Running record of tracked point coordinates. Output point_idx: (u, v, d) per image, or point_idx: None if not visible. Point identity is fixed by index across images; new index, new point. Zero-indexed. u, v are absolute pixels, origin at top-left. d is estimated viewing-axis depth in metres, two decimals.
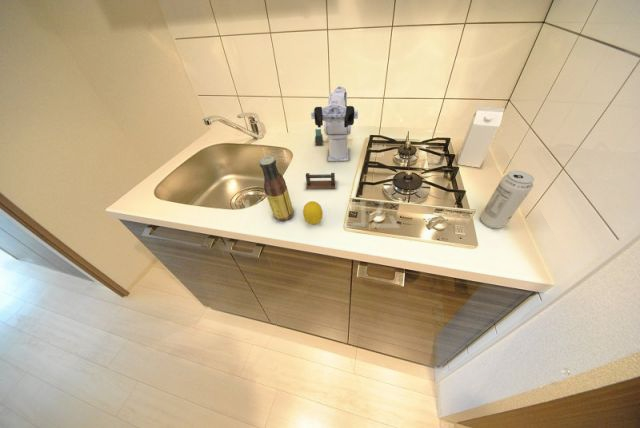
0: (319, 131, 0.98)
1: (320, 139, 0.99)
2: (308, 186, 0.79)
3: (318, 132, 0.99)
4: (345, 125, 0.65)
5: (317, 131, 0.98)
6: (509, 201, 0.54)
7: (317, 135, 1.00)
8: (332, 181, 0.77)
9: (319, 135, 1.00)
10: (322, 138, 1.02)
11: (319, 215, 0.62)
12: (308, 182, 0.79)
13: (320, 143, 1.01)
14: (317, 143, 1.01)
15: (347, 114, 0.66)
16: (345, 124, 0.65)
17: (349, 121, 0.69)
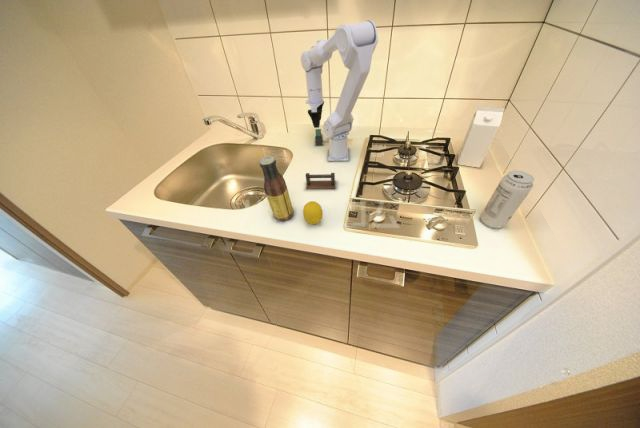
0: (319, 131, 0.98)
1: (320, 139, 0.99)
2: (308, 186, 0.79)
3: (318, 132, 0.99)
4: None
5: (317, 131, 0.98)
6: (509, 201, 0.54)
7: (317, 135, 1.00)
8: (332, 181, 0.77)
9: (319, 135, 1.00)
10: (322, 138, 1.02)
11: (319, 215, 0.62)
12: (308, 182, 0.79)
13: (320, 143, 1.01)
14: (317, 143, 1.01)
15: None
16: None
17: (318, 115, 0.89)
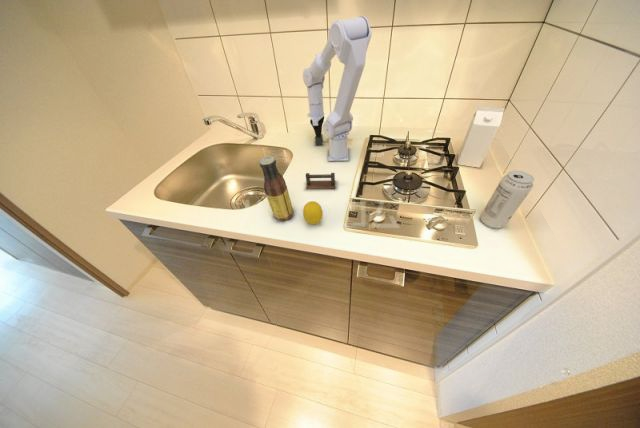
0: None
1: (320, 139, 0.99)
2: (308, 186, 0.79)
3: None
4: None
5: None
6: (509, 201, 0.54)
7: None
8: (332, 181, 0.77)
9: None
10: (322, 138, 1.02)
11: (319, 215, 0.62)
12: (308, 182, 0.79)
13: (320, 143, 1.01)
14: (317, 143, 1.01)
15: None
16: None
17: (319, 124, 0.95)
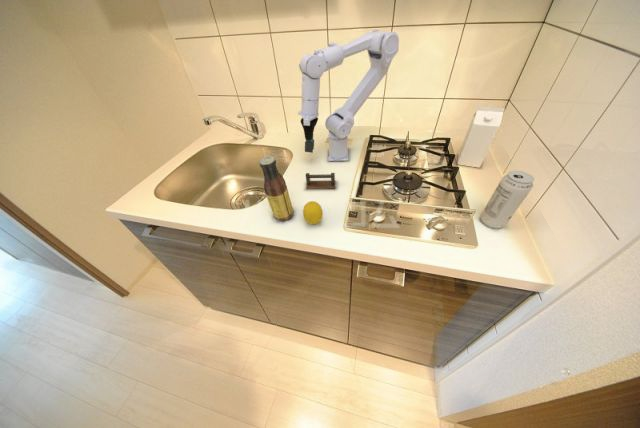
0: None
1: (311, 145, 0.83)
2: (308, 186, 0.79)
3: None
4: None
5: None
6: (509, 201, 0.54)
7: (308, 140, 0.83)
8: (332, 181, 0.77)
9: (310, 140, 0.83)
10: (313, 144, 0.86)
11: (319, 215, 0.62)
12: (308, 182, 0.79)
13: (310, 150, 0.84)
14: (307, 149, 0.84)
15: None
16: None
17: (311, 126, 0.78)
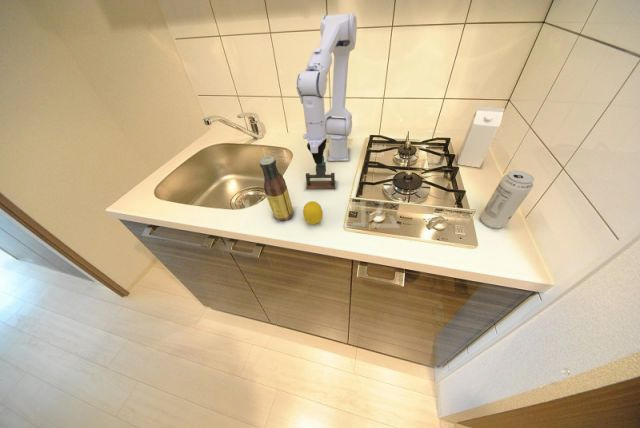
0: None
1: (323, 169, 0.73)
2: (308, 186, 0.79)
3: None
4: None
5: None
6: (509, 201, 0.54)
7: (319, 164, 0.73)
8: (332, 181, 0.77)
9: (321, 164, 0.73)
10: (325, 167, 0.76)
11: (319, 215, 0.62)
12: (308, 182, 0.79)
13: (322, 174, 0.74)
14: (318, 174, 0.75)
15: None
16: None
17: (320, 149, 0.68)
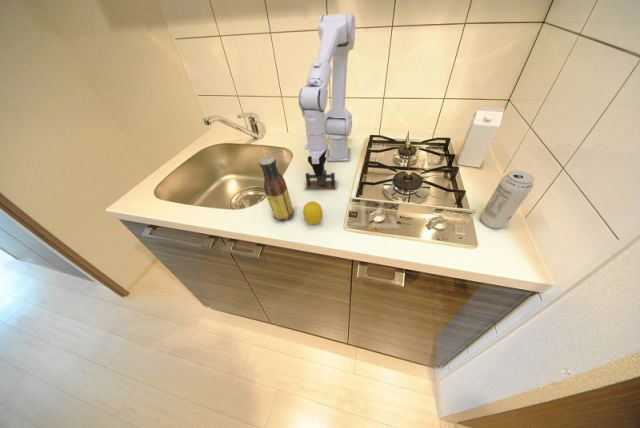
0: None
1: (323, 178, 0.75)
2: (308, 186, 0.79)
3: None
4: None
5: None
6: (509, 201, 0.54)
7: None
8: (332, 181, 0.77)
9: None
10: None
11: (319, 215, 0.62)
12: (308, 182, 0.79)
13: (323, 182, 0.77)
14: (319, 182, 0.77)
15: None
16: None
17: (321, 162, 0.69)
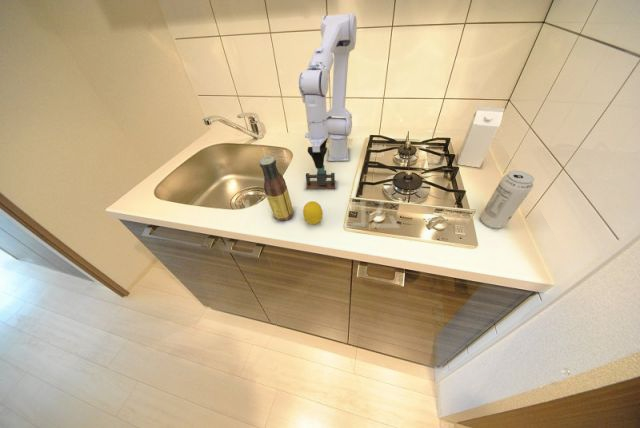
0: (322, 168, 0.74)
1: (323, 178, 0.75)
2: (308, 186, 0.79)
3: (321, 169, 0.75)
4: None
5: (319, 168, 0.74)
6: (509, 201, 0.54)
7: (319, 172, 0.76)
8: (332, 181, 0.77)
9: (322, 172, 0.76)
10: None
11: (319, 215, 0.62)
12: (308, 182, 0.79)
13: (323, 182, 0.77)
14: (319, 182, 0.77)
15: None
16: None
17: (321, 153, 0.66)
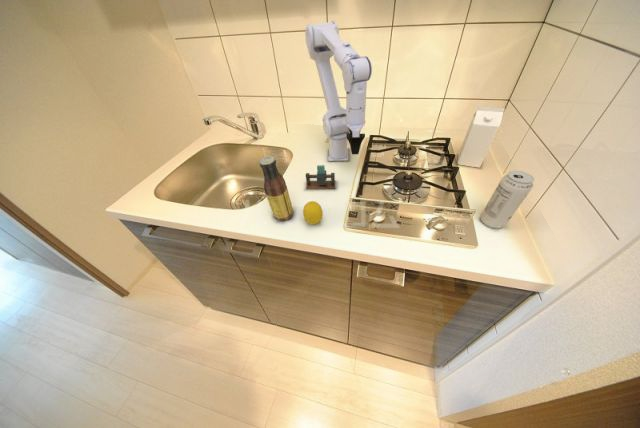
0: (322, 168, 0.74)
1: (323, 178, 0.75)
2: (308, 186, 0.79)
3: (321, 169, 0.75)
4: None
5: (319, 168, 0.74)
6: (509, 201, 0.54)
7: (319, 173, 0.76)
8: (332, 181, 0.77)
9: (322, 173, 0.76)
10: None
11: (319, 215, 0.62)
12: (308, 182, 0.79)
13: (323, 182, 0.77)
14: (319, 182, 0.77)
15: (350, 145, 0.72)
16: None
17: (359, 139, 0.70)
